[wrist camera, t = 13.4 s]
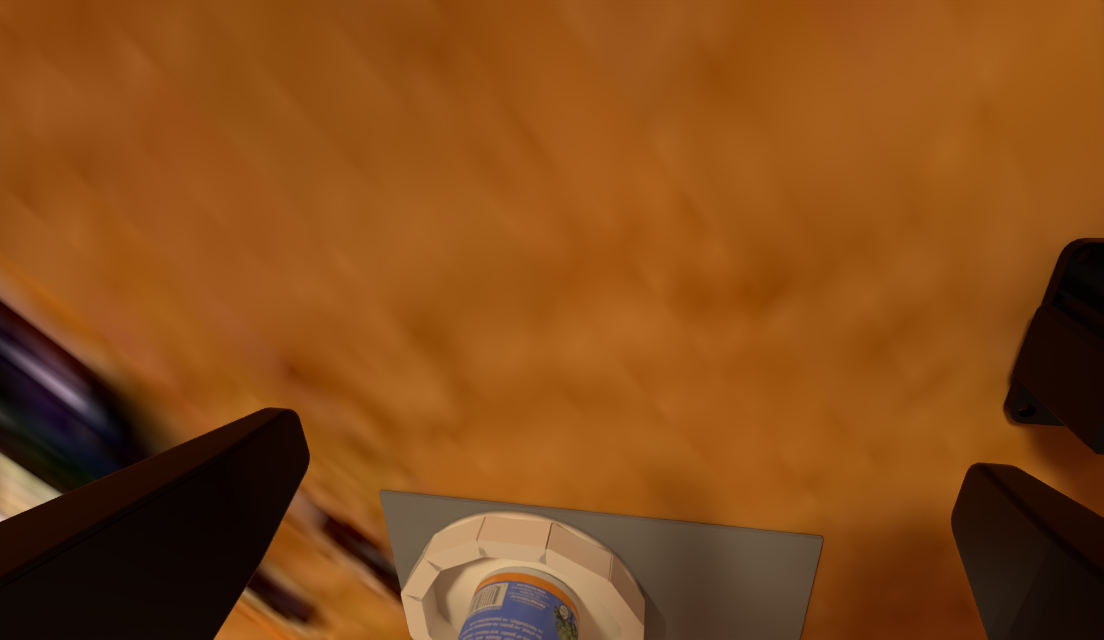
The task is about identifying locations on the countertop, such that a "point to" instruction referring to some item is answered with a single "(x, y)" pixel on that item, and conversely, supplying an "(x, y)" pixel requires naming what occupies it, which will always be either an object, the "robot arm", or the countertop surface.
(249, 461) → the robot arm
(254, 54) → the countertop surface
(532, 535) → the dish
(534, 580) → the pill bottle
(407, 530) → the placemat
